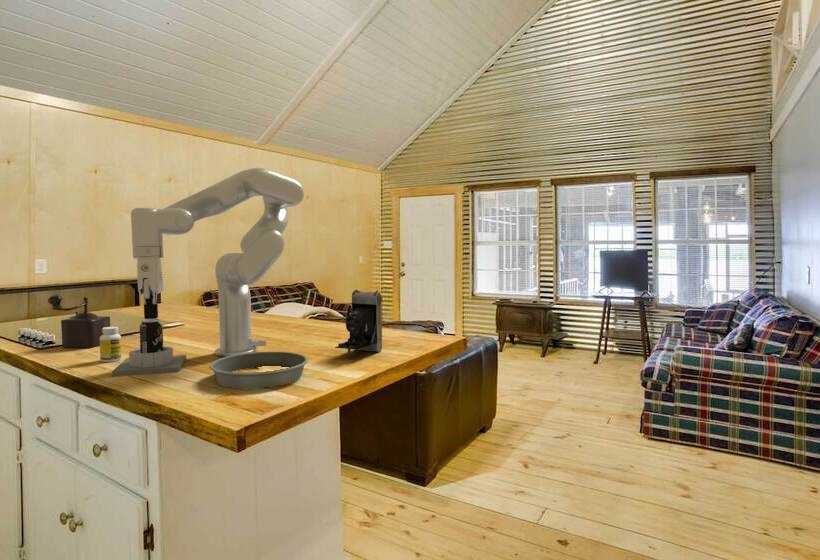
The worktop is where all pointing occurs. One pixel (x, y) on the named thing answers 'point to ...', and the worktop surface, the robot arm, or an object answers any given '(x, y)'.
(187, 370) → the worktop surface
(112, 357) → the supplement bottle
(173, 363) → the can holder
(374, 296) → the vintage camera
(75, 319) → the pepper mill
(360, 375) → the worktop surface
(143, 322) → the beverage can
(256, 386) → the cake pan
